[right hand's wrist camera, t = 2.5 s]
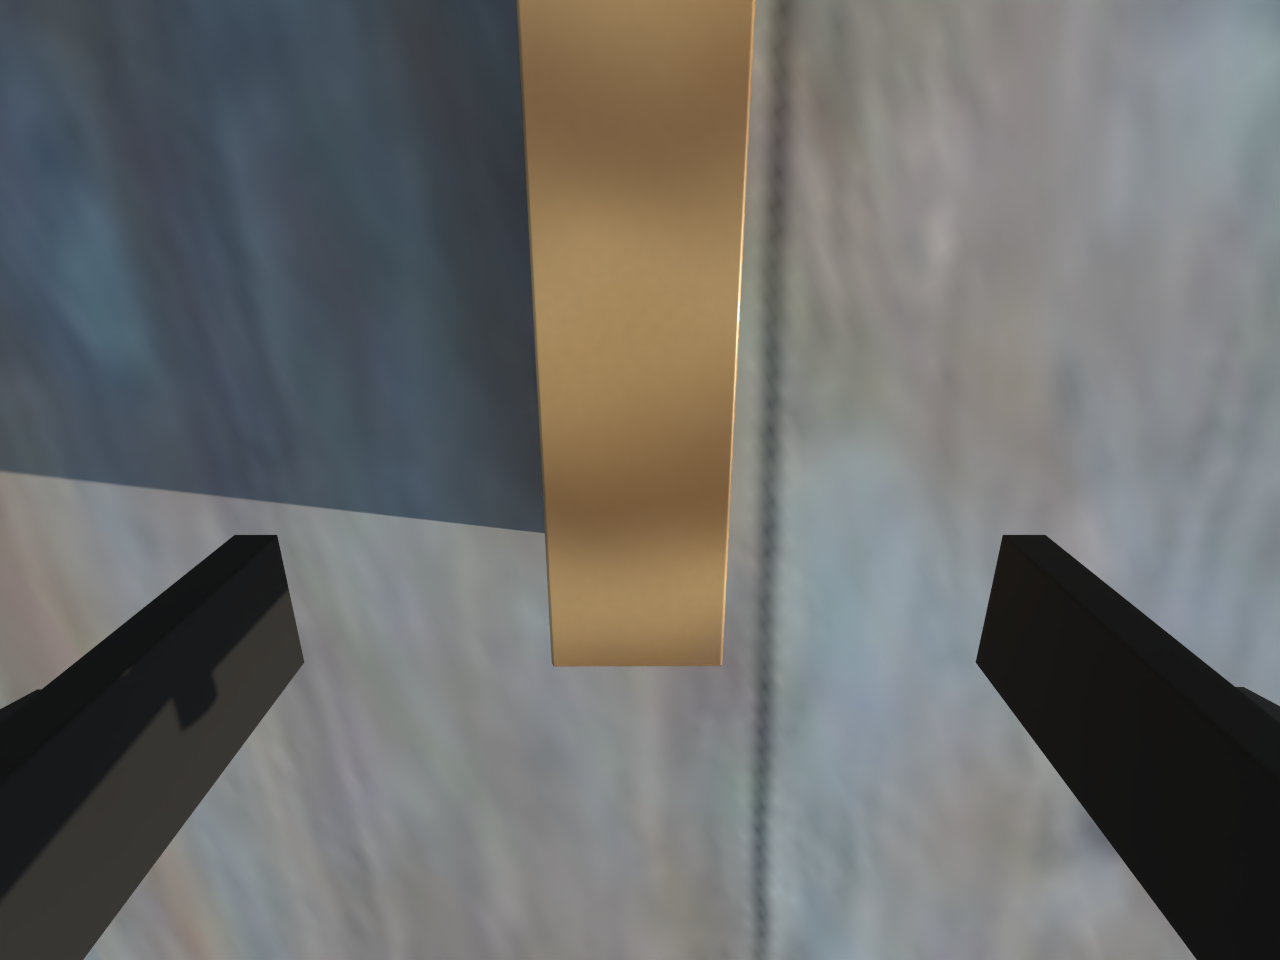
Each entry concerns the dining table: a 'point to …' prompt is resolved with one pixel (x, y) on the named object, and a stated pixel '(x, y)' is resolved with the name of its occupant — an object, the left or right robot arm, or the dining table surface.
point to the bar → (636, 314)
